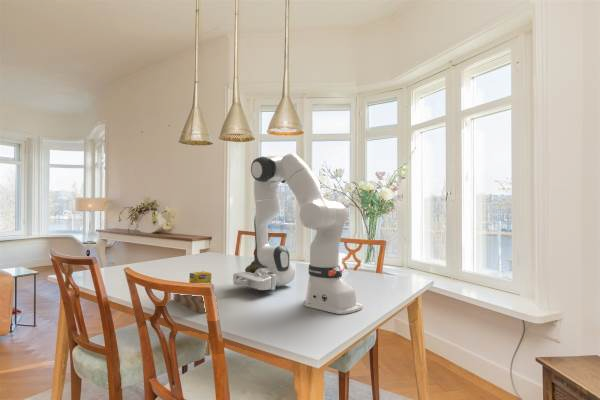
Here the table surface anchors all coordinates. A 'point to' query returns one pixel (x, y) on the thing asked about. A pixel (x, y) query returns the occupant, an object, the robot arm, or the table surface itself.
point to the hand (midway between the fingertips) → (235, 282)
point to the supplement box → (200, 277)
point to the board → (191, 302)
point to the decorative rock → (253, 267)
